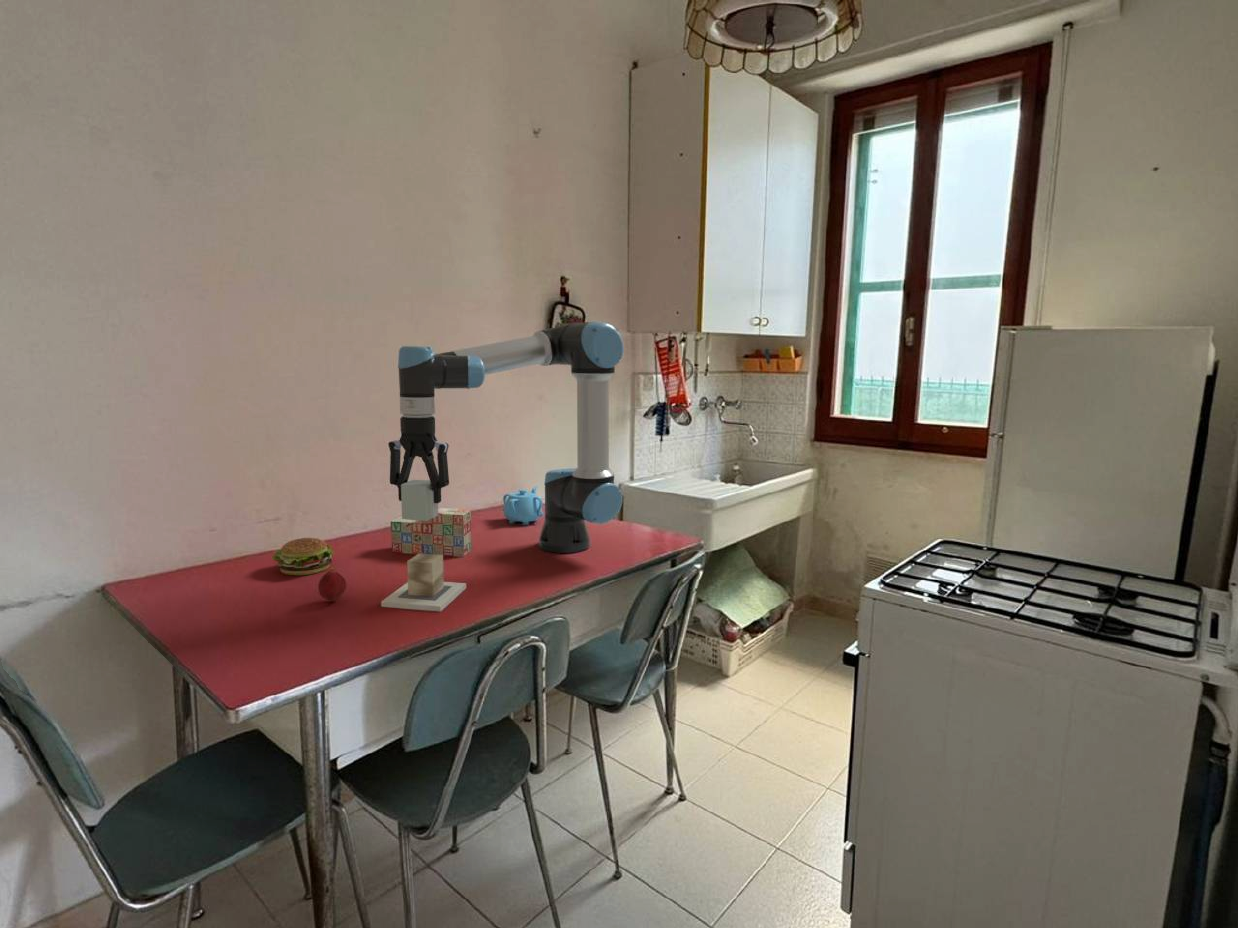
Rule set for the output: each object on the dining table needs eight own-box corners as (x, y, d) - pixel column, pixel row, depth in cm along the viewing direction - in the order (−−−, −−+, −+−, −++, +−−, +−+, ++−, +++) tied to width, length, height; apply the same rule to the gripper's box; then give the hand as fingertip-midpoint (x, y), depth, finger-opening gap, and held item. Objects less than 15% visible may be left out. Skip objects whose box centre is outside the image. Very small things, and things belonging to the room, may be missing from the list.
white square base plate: (466, 588, 163) (466, 582, 162) (440, 611, 148) (440, 605, 148) (411, 583, 165) (411, 578, 164) (381, 606, 150) (381, 600, 150)
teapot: (506, 529, 218) (507, 495, 215) (500, 516, 231) (500, 484, 229) (545, 526, 222) (545, 494, 220) (536, 514, 235) (536, 483, 233)
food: (264, 569, 173) (262, 539, 172) (319, 557, 184) (317, 529, 182) (286, 582, 164) (283, 551, 163) (342, 569, 174) (340, 540, 173)
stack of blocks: (391, 553, 189) (389, 510, 187) (400, 546, 195) (399, 505, 193) (464, 557, 187) (463, 514, 185) (471, 550, 193) (471, 509, 191)
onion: (329, 608, 148) (327, 574, 147) (313, 602, 151) (311, 569, 150) (352, 600, 153) (350, 567, 152) (336, 595, 156) (334, 562, 155)
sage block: (438, 514, 157) (437, 481, 156) (426, 520, 151) (425, 486, 150) (414, 513, 158) (413, 479, 157) (402, 519, 152) (401, 484, 151)
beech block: (443, 587, 159) (442, 555, 157) (433, 596, 153) (432, 563, 152) (419, 585, 160) (418, 553, 158) (408, 594, 154) (407, 561, 152)
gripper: (369, 415, 149) (373, 516, 152) (450, 419, 145) (452, 522, 149) (387, 412, 156) (390, 509, 160) (464, 415, 153) (465, 514, 157)
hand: (420, 515), depth 155 cm, fingers closed on sage block, 6 cm apart
